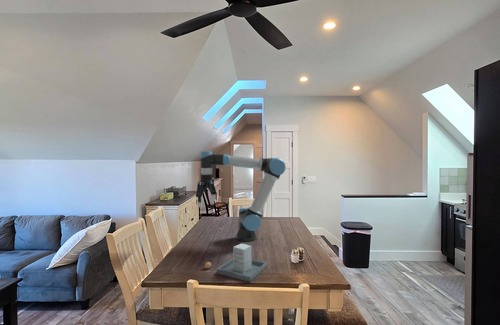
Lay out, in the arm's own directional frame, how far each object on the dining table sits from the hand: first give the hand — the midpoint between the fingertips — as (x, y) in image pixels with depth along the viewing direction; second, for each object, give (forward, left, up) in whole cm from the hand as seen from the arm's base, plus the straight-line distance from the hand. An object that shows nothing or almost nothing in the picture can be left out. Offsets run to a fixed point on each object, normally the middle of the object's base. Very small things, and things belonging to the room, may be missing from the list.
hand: (206, 205), depth 179 cm
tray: (+20, +39, -29) cm, 52 cm away
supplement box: (+20, +39, -28) cm, 52 cm away
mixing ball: (+27, +21, -29) cm, 44 cm away
